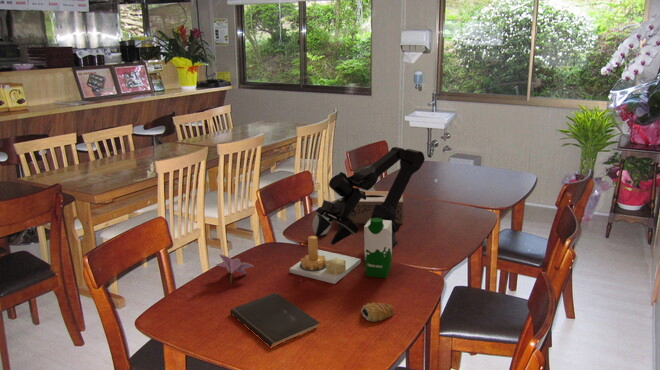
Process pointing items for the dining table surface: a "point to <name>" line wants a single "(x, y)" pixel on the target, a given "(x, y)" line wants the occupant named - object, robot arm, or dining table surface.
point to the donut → (315, 225)
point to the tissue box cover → (367, 207)
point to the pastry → (377, 311)
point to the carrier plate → (328, 267)
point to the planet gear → (313, 256)
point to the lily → (234, 265)
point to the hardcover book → (274, 318)
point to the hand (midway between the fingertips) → (324, 240)
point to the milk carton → (378, 247)
